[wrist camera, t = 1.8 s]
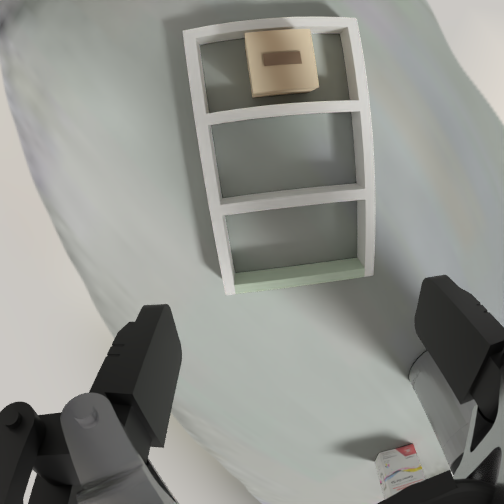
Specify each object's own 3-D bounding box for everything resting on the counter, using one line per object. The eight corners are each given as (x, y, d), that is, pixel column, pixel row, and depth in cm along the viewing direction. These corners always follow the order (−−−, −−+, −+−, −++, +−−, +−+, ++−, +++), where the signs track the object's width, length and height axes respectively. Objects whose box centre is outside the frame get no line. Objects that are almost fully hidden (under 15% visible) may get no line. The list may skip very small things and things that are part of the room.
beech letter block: (299, 43, 23) (310, 28, 18) (307, 93, 25) (319, 86, 20) (245, 47, 23) (244, 32, 18) (252, 97, 25) (253, 92, 20)
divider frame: (348, 25, 22) (356, 18, 20) (365, 264, 32) (373, 275, 30) (187, 37, 22) (182, 30, 20) (227, 282, 32) (225, 295, 30)
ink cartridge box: (413, 442, 50) (433, 494, 36) (407, 452, 52) (424, 502, 38) (378, 452, 50) (394, 508, 36) (373, 461, 52) (387, 515, 38)
